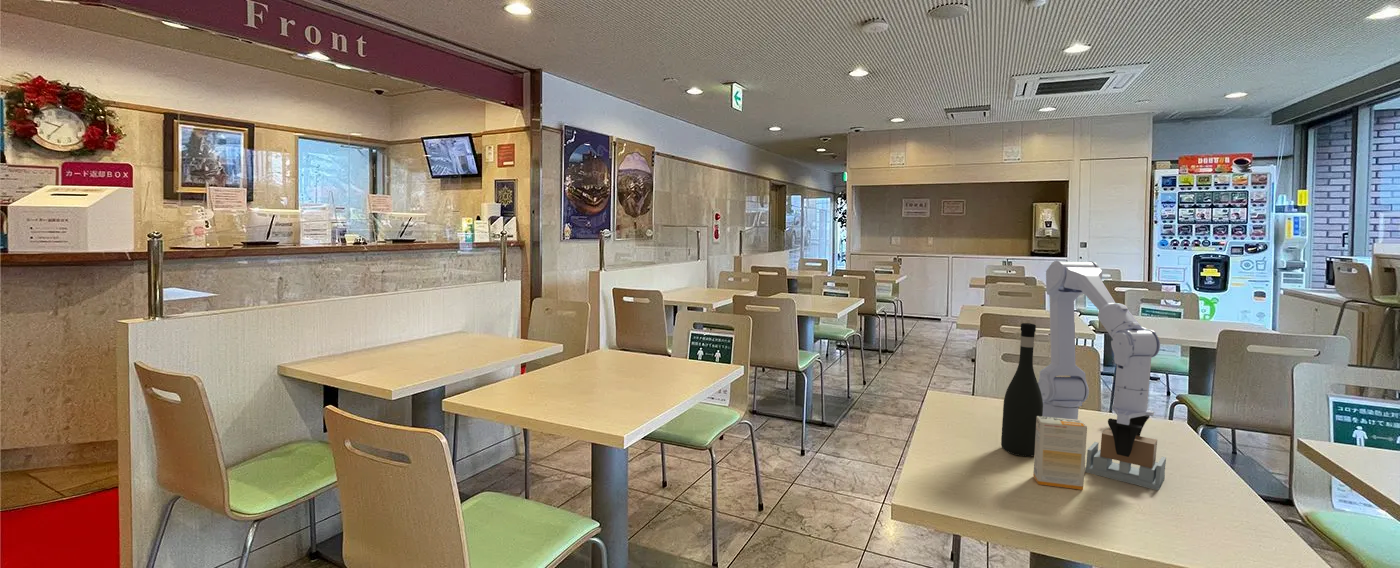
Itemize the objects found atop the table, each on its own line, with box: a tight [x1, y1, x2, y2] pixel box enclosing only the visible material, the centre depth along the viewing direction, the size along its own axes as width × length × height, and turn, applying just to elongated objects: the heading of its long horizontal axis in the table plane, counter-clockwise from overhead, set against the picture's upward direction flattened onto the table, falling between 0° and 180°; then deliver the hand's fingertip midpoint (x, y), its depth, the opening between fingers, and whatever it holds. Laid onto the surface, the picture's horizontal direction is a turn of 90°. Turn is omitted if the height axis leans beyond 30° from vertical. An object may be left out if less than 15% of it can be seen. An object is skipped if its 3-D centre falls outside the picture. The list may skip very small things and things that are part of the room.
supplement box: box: [1032, 416, 1088, 491], centre depth 122 cm, size 8×5×13 cm, turn 71°
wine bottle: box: [1000, 322, 1043, 457], centre depth 139 cm, size 8×8×30 cm
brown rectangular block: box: [1099, 429, 1158, 468], centre depth 127 cm, size 9×4×5 cm, turn 46°
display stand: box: [1084, 441, 1167, 491], centre depth 127 cm, size 13×8×5 cm, turn 46°
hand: (1126, 450), depth 127 cm, fingers open, 7 cm apart
